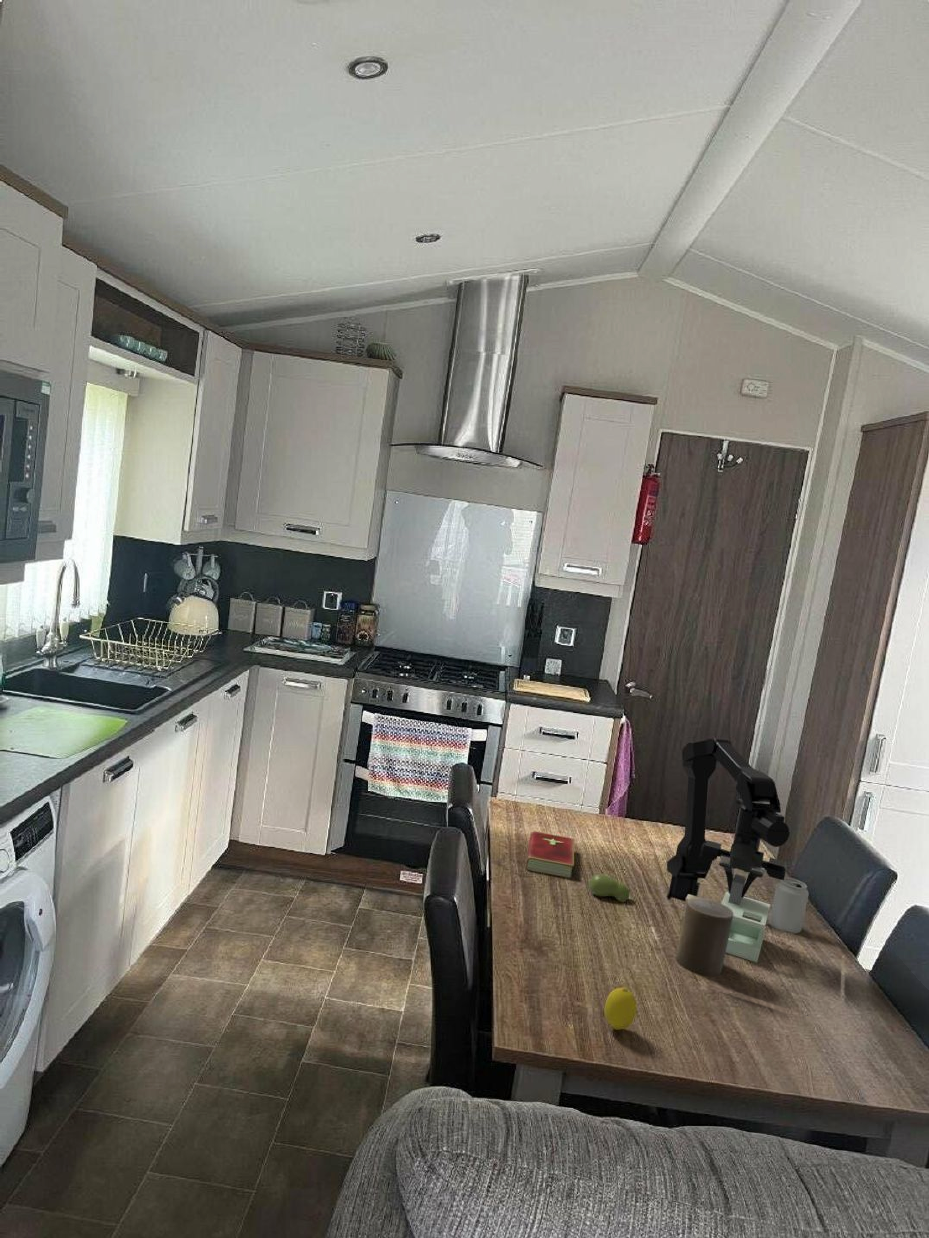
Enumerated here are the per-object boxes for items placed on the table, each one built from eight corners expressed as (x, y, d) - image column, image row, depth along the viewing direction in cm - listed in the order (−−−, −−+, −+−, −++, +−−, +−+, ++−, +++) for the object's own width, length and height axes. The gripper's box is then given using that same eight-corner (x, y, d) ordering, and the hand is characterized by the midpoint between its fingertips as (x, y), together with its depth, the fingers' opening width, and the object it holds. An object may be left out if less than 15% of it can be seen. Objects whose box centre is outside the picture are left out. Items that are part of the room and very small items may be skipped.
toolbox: (709, 951, 206) (713, 934, 206) (718, 929, 219) (721, 913, 218) (756, 966, 202) (759, 949, 202) (762, 943, 215) (765, 926, 215)
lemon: (598, 1019, 170) (605, 978, 169) (627, 1022, 170) (635, 981, 169) (605, 1036, 164) (613, 994, 163) (635, 1040, 165) (643, 997, 164)
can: (802, 939, 221) (812, 891, 220) (770, 931, 223) (779, 883, 221) (797, 926, 229) (807, 879, 227) (766, 919, 230) (775, 873, 229)
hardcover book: (524, 871, 238) (527, 855, 237) (528, 843, 258) (531, 829, 258) (571, 880, 236) (574, 864, 236) (571, 852, 257) (574, 837, 257)
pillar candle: (695, 982, 191) (710, 912, 189) (665, 958, 199) (678, 892, 197) (730, 978, 195) (745, 910, 194) (699, 955, 204) (713, 890, 202)
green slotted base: (717, 915, 205) (722, 889, 204) (725, 895, 218) (730, 871, 217) (764, 929, 201) (769, 903, 201) (769, 908, 214) (774, 883, 213)
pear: (592, 867, 231) (631, 881, 231) (585, 887, 231) (624, 900, 231) (594, 875, 225) (633, 889, 225) (587, 895, 226) (626, 909, 226)
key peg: (678, 935, 212) (685, 898, 211) (681, 931, 215) (688, 894, 214) (691, 939, 211) (699, 902, 210) (694, 935, 214) (701, 897, 213)
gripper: (702, 827, 208) (689, 894, 210) (789, 851, 201) (775, 919, 203) (709, 815, 218) (697, 879, 220) (792, 837, 211) (779, 903, 213)
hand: (736, 895), depth 214 cm, fingers closed on green slotted base, 2 cm apart
